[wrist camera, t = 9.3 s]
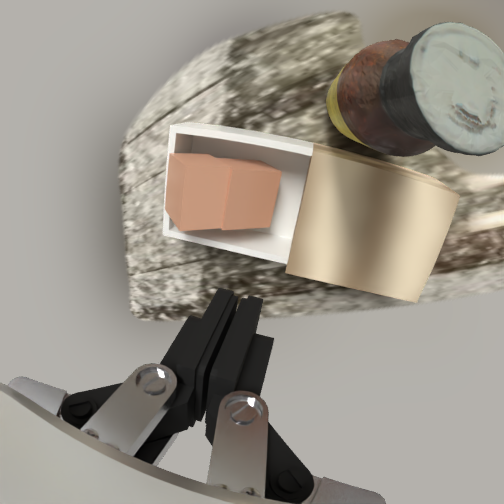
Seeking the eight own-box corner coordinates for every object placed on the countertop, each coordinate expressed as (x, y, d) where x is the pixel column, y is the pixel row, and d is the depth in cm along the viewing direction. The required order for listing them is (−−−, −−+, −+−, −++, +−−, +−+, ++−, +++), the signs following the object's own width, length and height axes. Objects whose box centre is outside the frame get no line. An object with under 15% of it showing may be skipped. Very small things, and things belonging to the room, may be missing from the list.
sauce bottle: (360, 153, 25) (447, 252, 8) (310, 103, 24) (301, 86, 7) (410, 107, 22) (566, 128, 5) (360, 56, 21) (449, -39, 4)
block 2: (232, 169, 22) (214, 157, 25) (222, 230, 24) (206, 212, 27) (282, 171, 24) (260, 160, 27) (269, 227, 27) (250, 211, 29)
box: (313, 142, 26) (313, 148, 22) (291, 242, 30) (287, 264, 26) (190, 121, 27) (170, 125, 23) (181, 217, 32) (162, 235, 28)
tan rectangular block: (434, 177, 25) (460, 195, 19) (402, 269, 29) (416, 302, 24) (313, 142, 26) (313, 151, 20) (291, 242, 30) (285, 273, 25)
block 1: (231, 167, 22) (185, 166, 20) (221, 228, 25) (179, 231, 23) (208, 153, 26) (169, 153, 24) (201, 207, 28) (164, 209, 26)
